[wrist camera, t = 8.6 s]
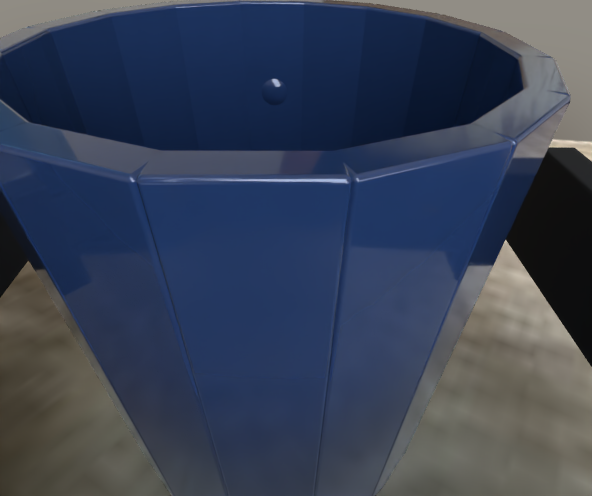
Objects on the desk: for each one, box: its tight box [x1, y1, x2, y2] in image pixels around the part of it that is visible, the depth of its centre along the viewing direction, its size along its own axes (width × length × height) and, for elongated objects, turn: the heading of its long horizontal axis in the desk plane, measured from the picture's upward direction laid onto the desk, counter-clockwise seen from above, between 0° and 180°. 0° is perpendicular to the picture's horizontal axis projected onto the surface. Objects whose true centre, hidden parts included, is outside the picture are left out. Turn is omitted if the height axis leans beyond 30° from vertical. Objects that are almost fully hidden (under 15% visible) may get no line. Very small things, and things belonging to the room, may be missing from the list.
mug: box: [0, 0, 570, 496], centre depth 11 cm, size 12×8×10 cm
